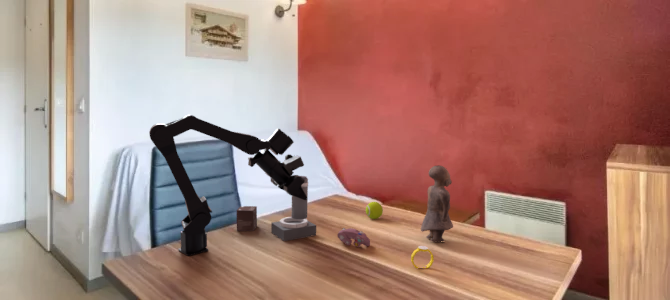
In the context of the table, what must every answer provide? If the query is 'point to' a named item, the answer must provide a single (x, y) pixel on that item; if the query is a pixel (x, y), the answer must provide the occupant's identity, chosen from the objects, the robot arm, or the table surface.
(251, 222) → the box
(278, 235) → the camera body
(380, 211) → the tennis ball
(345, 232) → the video game controller
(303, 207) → the grey travel tumbler
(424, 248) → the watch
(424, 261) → the table surface
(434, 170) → the clay figurine
